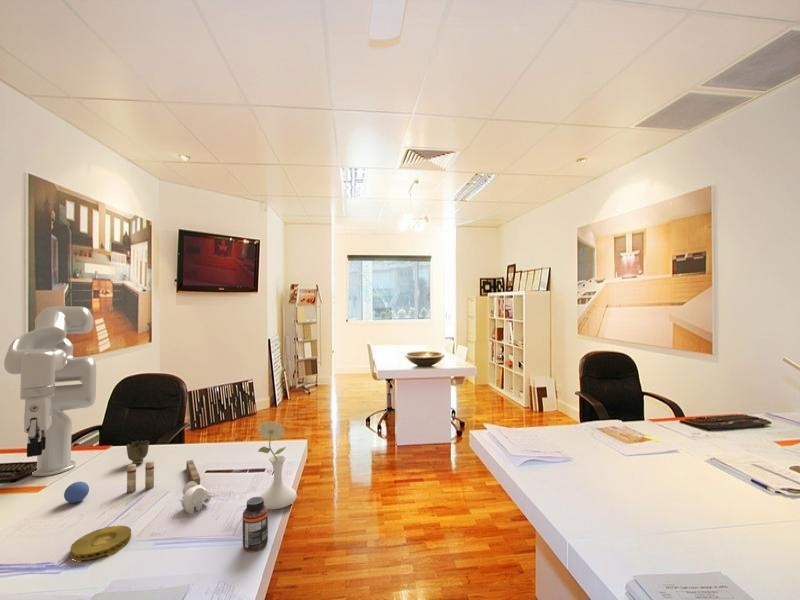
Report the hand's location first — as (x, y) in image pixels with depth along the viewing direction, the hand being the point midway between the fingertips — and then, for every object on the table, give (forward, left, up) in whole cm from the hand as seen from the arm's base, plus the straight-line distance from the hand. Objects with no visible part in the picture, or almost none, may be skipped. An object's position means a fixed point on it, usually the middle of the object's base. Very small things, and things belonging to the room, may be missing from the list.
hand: (36, 452), depth 113 cm
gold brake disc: (+34, +18, -18) cm, 42 cm away
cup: (-26, +26, -18) cm, 40 cm away
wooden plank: (+2, +42, -17) cm, 45 cm away
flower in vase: (+39, +60, -18) cm, 73 cm away
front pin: (+2, +24, -17) cm, 29 cm away
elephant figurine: (+27, +40, -18) cm, 51 cm away
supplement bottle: (+57, +49, -18) cm, 77 cm away
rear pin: (+2, +29, -17) cm, 33 cm away
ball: (0, +10, -14) cm, 17 cm away
